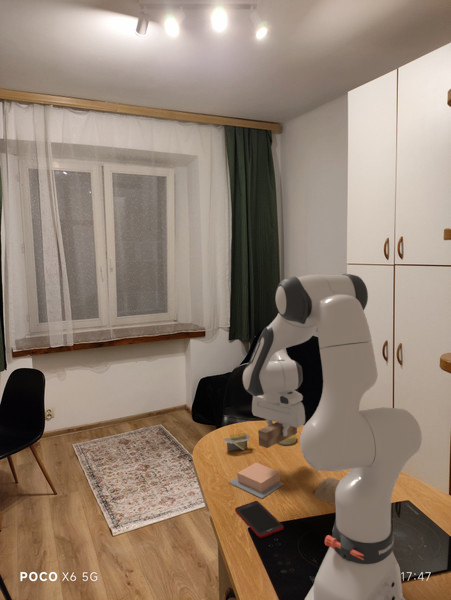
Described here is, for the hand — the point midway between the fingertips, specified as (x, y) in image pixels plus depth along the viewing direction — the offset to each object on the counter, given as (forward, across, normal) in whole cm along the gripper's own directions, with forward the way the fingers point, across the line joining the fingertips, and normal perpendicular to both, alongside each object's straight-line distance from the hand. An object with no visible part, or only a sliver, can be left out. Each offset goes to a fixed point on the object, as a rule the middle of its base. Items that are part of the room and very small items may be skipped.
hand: (278, 433), depth 143 cm
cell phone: (+14, +12, -25) cm, 31 cm away
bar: (+2, 0, 0) cm, 2 cm away
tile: (+11, -1, -6) cm, 12 cm away
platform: (+13, -22, +2) cm, 25 cm away
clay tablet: (+14, +21, +1) cm, 26 cm away
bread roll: (+13, -13, +20) cm, 27 cm away
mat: (+13, -1, -12) cm, 17 cm away
